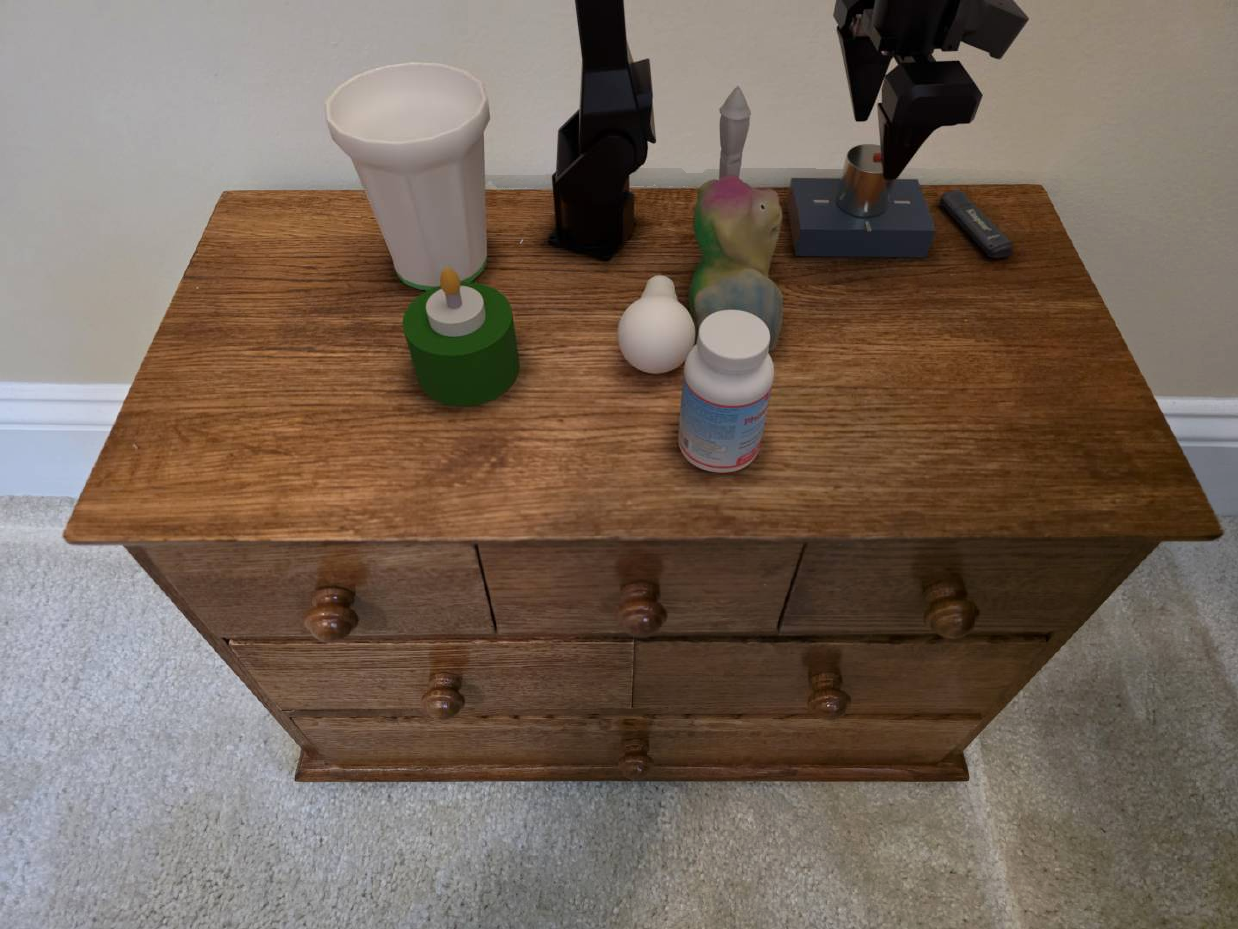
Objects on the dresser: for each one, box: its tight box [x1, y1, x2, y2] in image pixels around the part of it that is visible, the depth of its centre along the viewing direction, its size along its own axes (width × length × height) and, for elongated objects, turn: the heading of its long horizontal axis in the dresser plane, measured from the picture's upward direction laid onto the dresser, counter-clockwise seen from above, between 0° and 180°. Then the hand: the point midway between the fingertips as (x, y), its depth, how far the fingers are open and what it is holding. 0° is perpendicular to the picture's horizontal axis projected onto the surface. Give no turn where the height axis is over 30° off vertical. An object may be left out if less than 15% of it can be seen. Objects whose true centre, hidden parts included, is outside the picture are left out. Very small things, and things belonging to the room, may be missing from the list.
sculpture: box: [688, 174, 784, 353], centre depth 66 cm, size 15×8×10 cm, turn 3°
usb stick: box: [939, 189, 1014, 259], centre depth 76 cm, size 10×3×2 cm, turn 16°
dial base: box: [785, 177, 937, 259], centre depth 75 cm, size 12×9×3 cm
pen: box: [718, 85, 752, 180], centre depth 71 cm, size 2×3×14 cm
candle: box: [401, 268, 521, 407], centre depth 62 cm, size 8×8×10 cm
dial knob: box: [836, 143, 895, 217], centre depth 72 cm, size 5×5×5 cm
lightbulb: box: [616, 274, 695, 375], centre depth 65 cm, size 6×6×11 cm
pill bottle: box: [677, 310, 775, 474], centre depth 56 cm, size 6×6×11 cm
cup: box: [324, 61, 491, 291], centre depth 68 cm, size 12×12×15 cm
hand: (874, 148), depth 70 cm, fingers open, 9 cm apart
